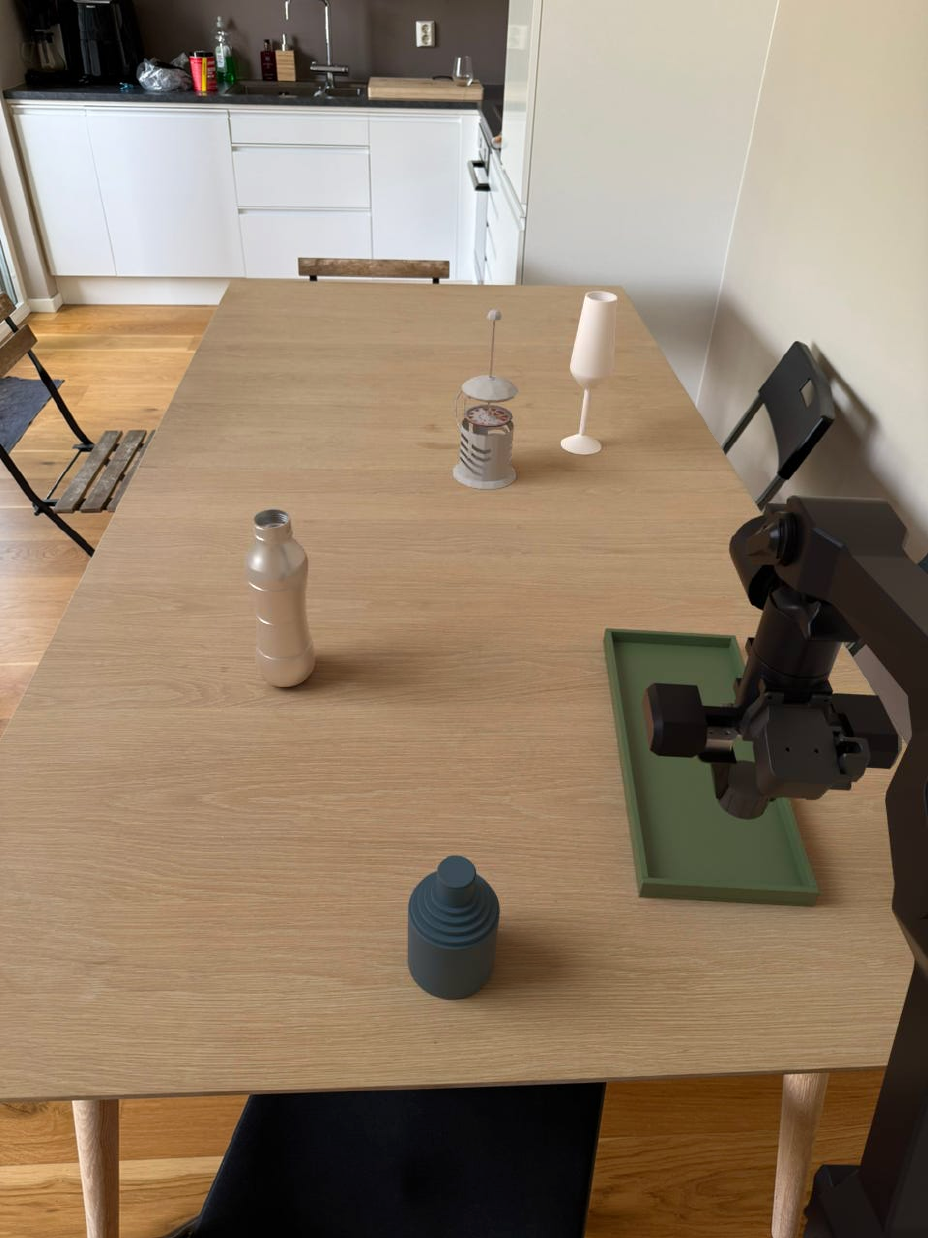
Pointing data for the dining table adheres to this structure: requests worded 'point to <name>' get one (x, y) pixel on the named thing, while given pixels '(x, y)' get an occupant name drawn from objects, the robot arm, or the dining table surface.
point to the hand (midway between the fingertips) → (742, 796)
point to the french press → (486, 430)
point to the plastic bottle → (279, 600)
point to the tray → (695, 785)
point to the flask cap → (743, 792)
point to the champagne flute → (592, 360)
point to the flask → (452, 930)
